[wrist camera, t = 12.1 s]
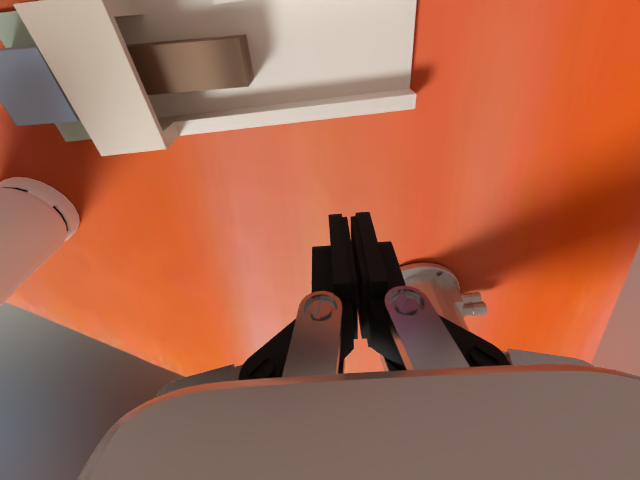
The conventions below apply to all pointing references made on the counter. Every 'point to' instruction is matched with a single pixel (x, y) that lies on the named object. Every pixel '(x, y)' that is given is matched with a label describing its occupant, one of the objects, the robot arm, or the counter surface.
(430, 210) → the counter surface
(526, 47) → the counter surface
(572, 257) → the counter surface
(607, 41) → the counter surface
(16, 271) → the bottle
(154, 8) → the lane
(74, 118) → the block
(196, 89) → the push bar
